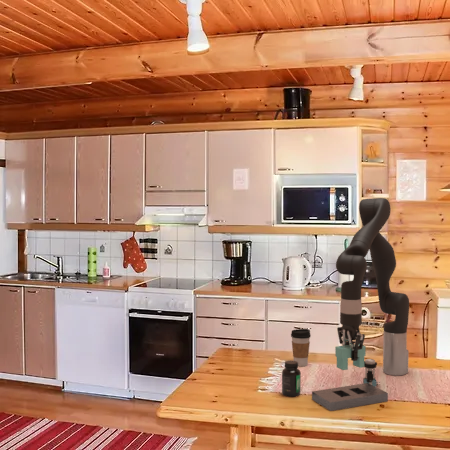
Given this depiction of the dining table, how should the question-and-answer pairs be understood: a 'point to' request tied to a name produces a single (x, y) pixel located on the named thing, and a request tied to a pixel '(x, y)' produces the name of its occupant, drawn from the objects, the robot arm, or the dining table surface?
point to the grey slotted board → (349, 396)
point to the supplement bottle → (291, 379)
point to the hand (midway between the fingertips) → (350, 358)
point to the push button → (370, 372)
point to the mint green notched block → (349, 356)
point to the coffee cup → (300, 346)
